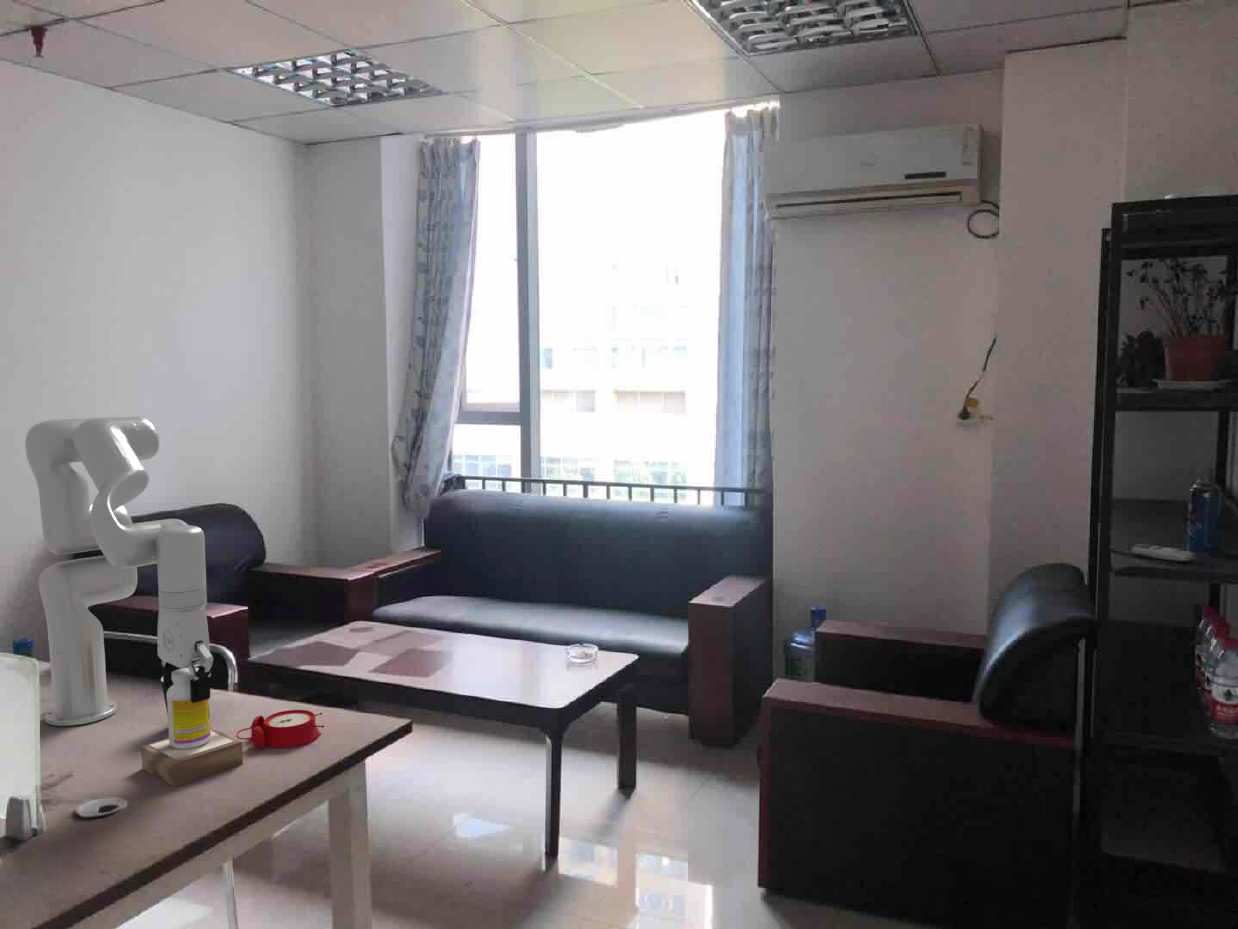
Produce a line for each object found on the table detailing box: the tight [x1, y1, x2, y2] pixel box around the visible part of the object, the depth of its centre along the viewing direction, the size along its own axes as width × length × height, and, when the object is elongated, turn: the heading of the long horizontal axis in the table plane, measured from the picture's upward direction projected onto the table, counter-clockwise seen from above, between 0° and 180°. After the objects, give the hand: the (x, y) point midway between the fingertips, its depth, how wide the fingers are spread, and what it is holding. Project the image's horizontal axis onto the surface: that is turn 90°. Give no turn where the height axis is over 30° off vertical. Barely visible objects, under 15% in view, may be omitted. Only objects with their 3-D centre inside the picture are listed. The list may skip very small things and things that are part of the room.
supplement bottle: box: [166, 667, 211, 749], centre depth 166 cm, size 7×7×13 cm
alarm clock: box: [236, 709, 325, 751], centre depth 178 cm, size 10×6×15 cm
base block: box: [140, 726, 244, 788], centre depth 166 cm, size 12×12×4 cm
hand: (186, 693), depth 166 cm, fingers open, 9 cm apart
